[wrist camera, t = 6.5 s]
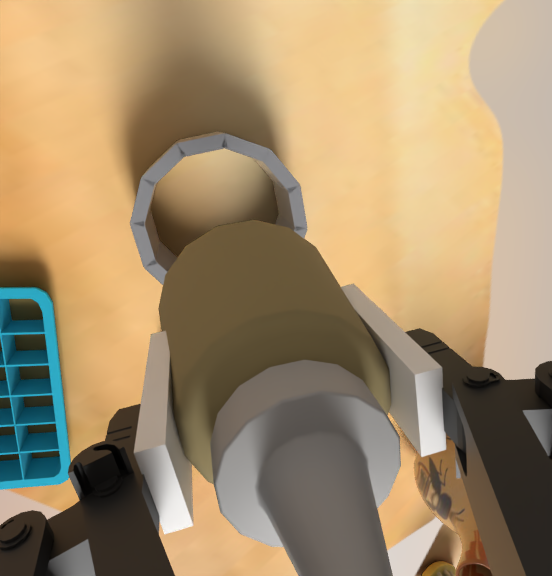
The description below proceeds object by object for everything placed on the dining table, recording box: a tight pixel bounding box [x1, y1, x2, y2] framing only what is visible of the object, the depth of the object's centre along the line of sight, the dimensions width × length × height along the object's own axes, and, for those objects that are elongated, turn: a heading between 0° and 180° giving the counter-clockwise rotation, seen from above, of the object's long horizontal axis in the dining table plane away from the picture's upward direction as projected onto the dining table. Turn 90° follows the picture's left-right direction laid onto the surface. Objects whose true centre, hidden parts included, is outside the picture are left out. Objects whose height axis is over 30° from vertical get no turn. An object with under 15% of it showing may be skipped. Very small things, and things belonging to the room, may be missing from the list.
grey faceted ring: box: [130, 131, 307, 285], centre depth 37 cm, size 13×13×6 cm
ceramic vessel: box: [414, 434, 492, 576], centre depth 44 cm, size 16×9×25 cm, turn 83°
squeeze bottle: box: [159, 220, 401, 576], centre depth 16 cm, size 8×8×18 cm
